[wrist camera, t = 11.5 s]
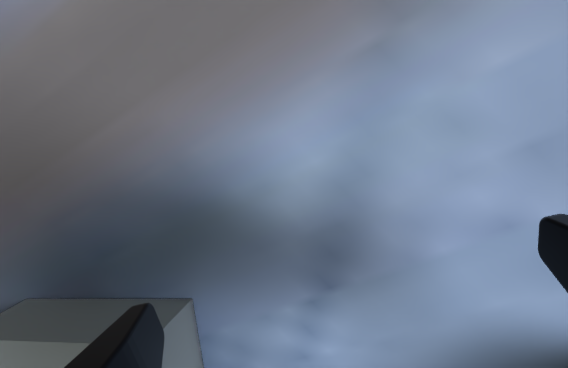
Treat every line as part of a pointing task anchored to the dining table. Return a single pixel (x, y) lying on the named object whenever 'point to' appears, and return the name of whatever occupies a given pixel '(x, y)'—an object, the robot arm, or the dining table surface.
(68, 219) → the dining table surface
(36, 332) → the socket block
